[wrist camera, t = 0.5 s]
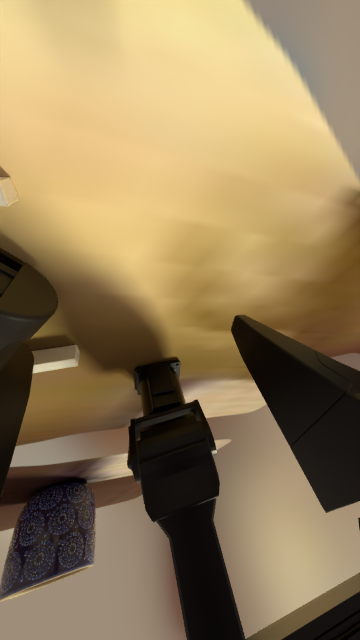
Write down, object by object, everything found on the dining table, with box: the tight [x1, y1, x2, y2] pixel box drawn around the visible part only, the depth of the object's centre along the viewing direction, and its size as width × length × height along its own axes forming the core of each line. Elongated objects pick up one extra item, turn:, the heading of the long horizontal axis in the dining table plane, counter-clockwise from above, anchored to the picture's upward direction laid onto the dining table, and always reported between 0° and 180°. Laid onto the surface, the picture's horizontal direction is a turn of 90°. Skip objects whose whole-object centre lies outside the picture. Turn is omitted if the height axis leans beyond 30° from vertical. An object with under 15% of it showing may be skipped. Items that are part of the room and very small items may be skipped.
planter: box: [0, 482, 96, 602], centre depth 45 cm, size 17×16×15 cm
